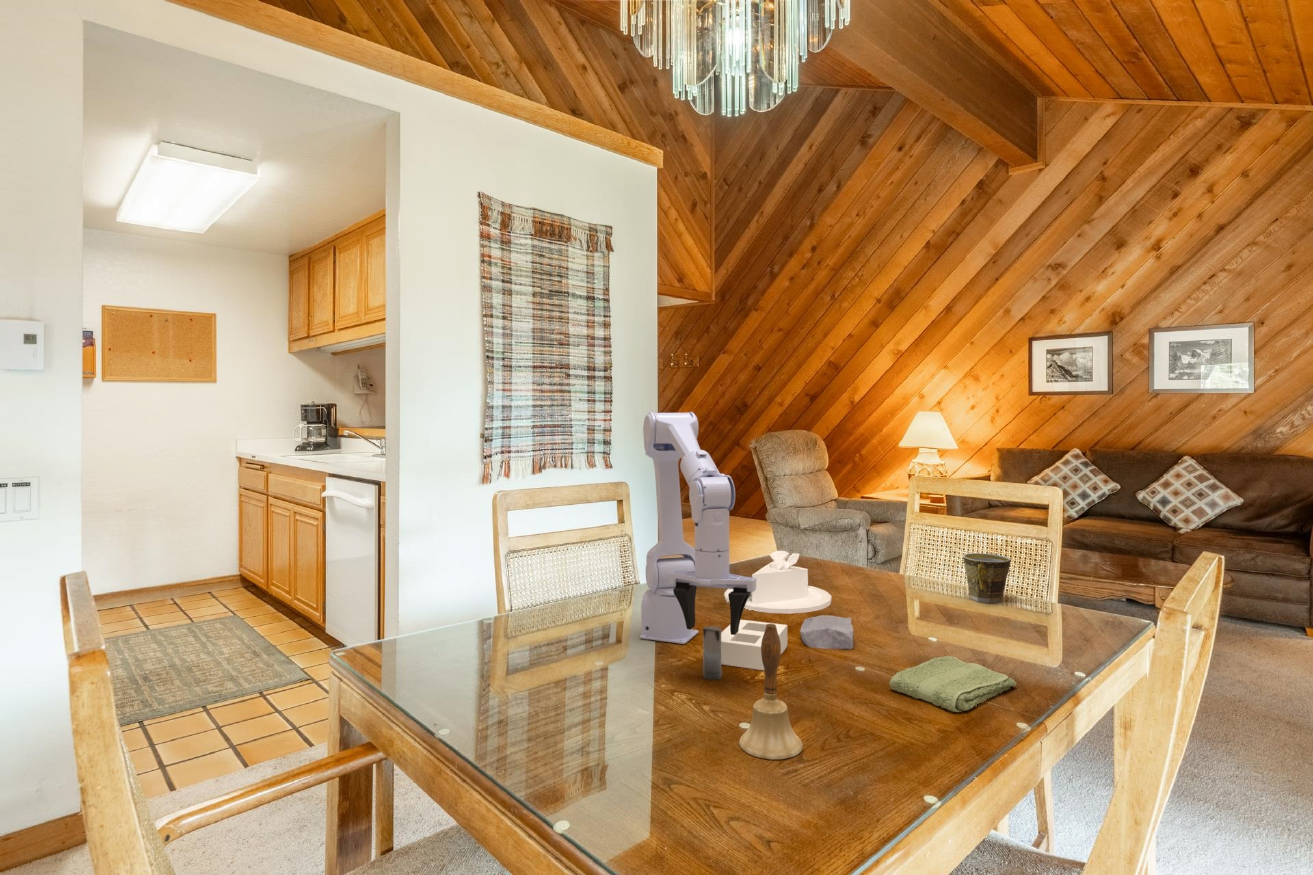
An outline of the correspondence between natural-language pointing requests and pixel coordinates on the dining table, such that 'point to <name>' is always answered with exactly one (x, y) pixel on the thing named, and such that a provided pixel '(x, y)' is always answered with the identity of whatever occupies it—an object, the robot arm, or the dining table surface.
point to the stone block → (827, 632)
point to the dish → (784, 588)
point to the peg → (712, 653)
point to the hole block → (747, 644)
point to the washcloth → (951, 683)
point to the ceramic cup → (986, 576)
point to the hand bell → (770, 711)
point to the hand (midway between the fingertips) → (712, 630)
